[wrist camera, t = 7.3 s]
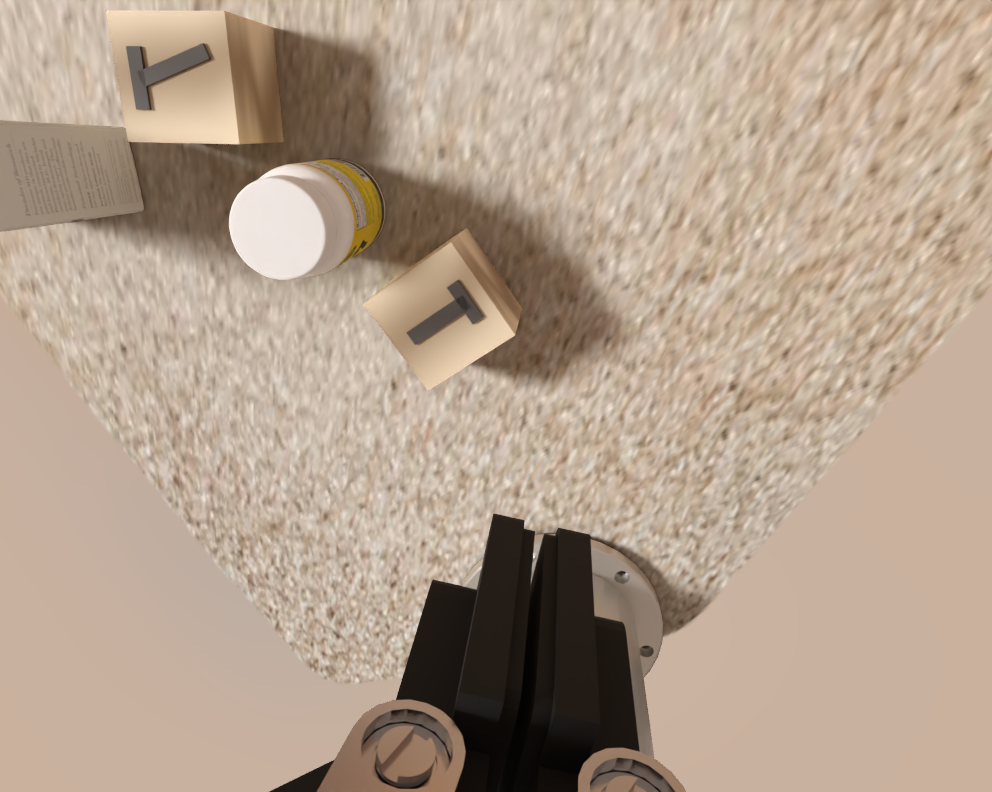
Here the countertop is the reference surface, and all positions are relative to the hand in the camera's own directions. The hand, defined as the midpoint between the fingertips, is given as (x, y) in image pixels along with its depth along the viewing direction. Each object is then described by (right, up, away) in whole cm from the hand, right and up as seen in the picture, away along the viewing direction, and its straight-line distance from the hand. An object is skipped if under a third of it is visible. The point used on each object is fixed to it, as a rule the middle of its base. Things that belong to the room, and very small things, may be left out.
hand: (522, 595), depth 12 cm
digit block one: (-2, +9, +24) cm, 26 cm away
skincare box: (-21, +15, +24) cm, 35 cm away
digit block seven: (-13, +18, +21) cm, 31 cm away
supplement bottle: (-8, +13, +23) cm, 28 cm away
